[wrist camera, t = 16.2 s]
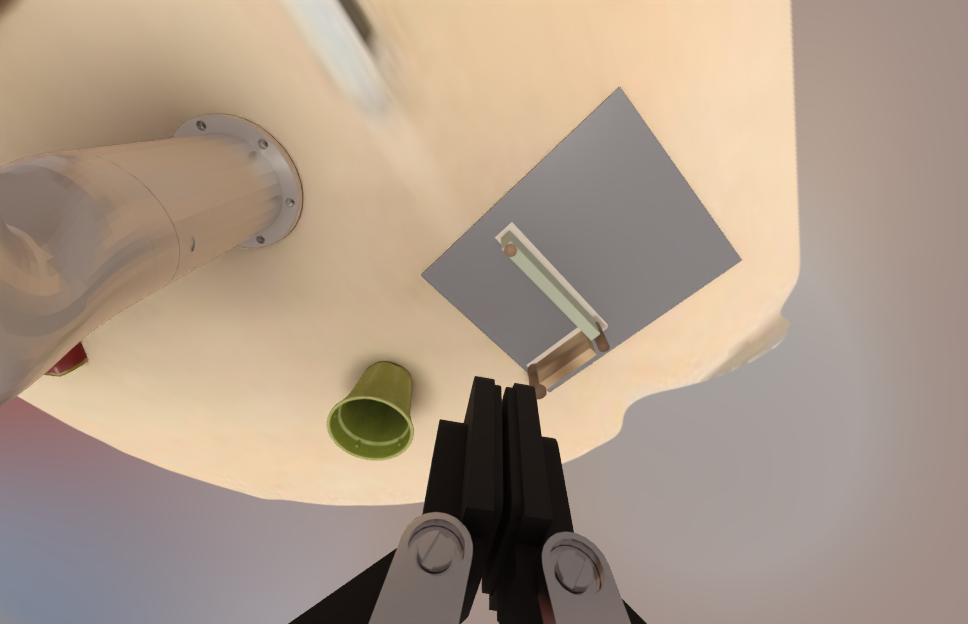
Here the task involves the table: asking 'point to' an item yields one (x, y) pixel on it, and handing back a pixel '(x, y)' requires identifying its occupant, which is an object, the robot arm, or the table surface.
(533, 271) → the bar
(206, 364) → the table surface
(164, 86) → the table surface
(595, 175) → the card
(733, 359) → the table surface
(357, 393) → the plant pot
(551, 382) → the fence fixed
